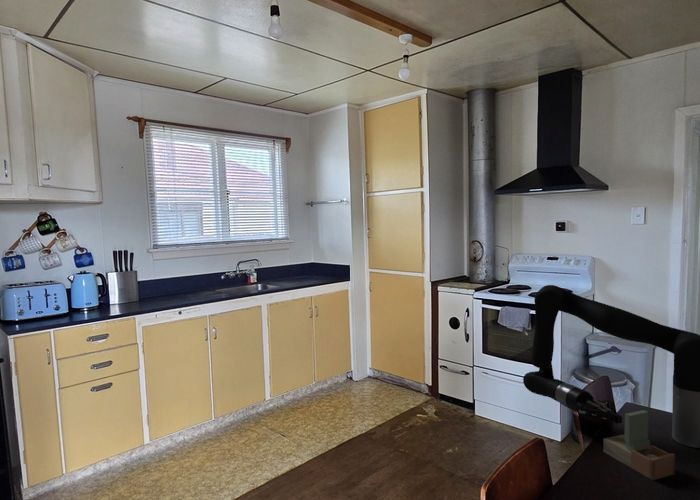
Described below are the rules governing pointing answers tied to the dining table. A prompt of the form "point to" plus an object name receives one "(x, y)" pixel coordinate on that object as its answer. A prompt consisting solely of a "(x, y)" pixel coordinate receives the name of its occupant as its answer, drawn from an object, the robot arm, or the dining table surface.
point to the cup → (654, 463)
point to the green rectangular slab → (637, 430)
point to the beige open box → (620, 449)
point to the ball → (651, 456)
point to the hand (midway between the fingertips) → (620, 420)
